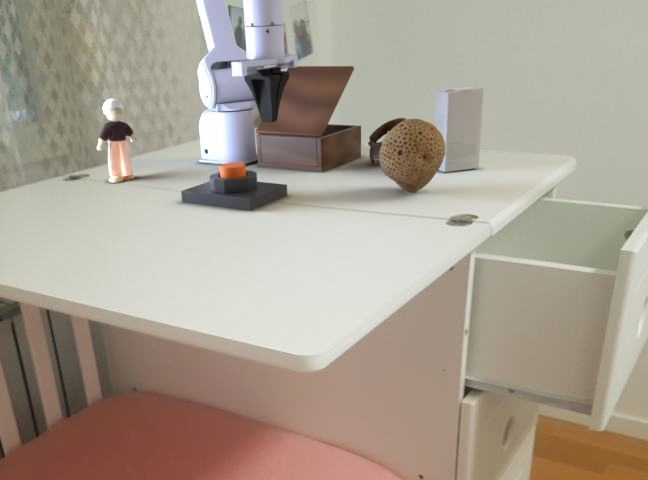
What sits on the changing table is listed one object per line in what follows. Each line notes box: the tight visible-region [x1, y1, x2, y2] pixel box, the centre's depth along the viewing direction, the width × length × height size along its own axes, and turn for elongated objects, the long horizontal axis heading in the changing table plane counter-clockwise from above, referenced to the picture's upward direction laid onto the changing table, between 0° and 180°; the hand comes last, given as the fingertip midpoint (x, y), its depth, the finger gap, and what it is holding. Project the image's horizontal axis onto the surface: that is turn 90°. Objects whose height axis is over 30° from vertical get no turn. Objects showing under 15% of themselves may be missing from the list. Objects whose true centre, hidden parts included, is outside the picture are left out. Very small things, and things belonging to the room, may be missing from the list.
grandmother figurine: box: [96, 97, 138, 184], centre depth 115 cm, size 8×4×13 cm, turn 152°
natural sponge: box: [379, 118, 445, 193], centre depth 98 cm, size 9×9×10 cm
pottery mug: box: [367, 117, 408, 166], centre depth 118 cm, size 12×10×8 cm
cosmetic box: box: [434, 85, 484, 173], centre depth 110 cm, size 6×4×12 cm
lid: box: [255, 65, 355, 137], centre depth 118 cm, size 14×13×1 cm
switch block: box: [180, 169, 288, 212], centre depth 100 cm, size 12×9×4 cm
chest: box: [255, 123, 362, 173], centre depth 122 cm, size 14×13×5 cm
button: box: [219, 162, 247, 178], centre depth 100 cm, size 4×4×2 cm
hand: (269, 121), depth 111 cm, fingers closed
